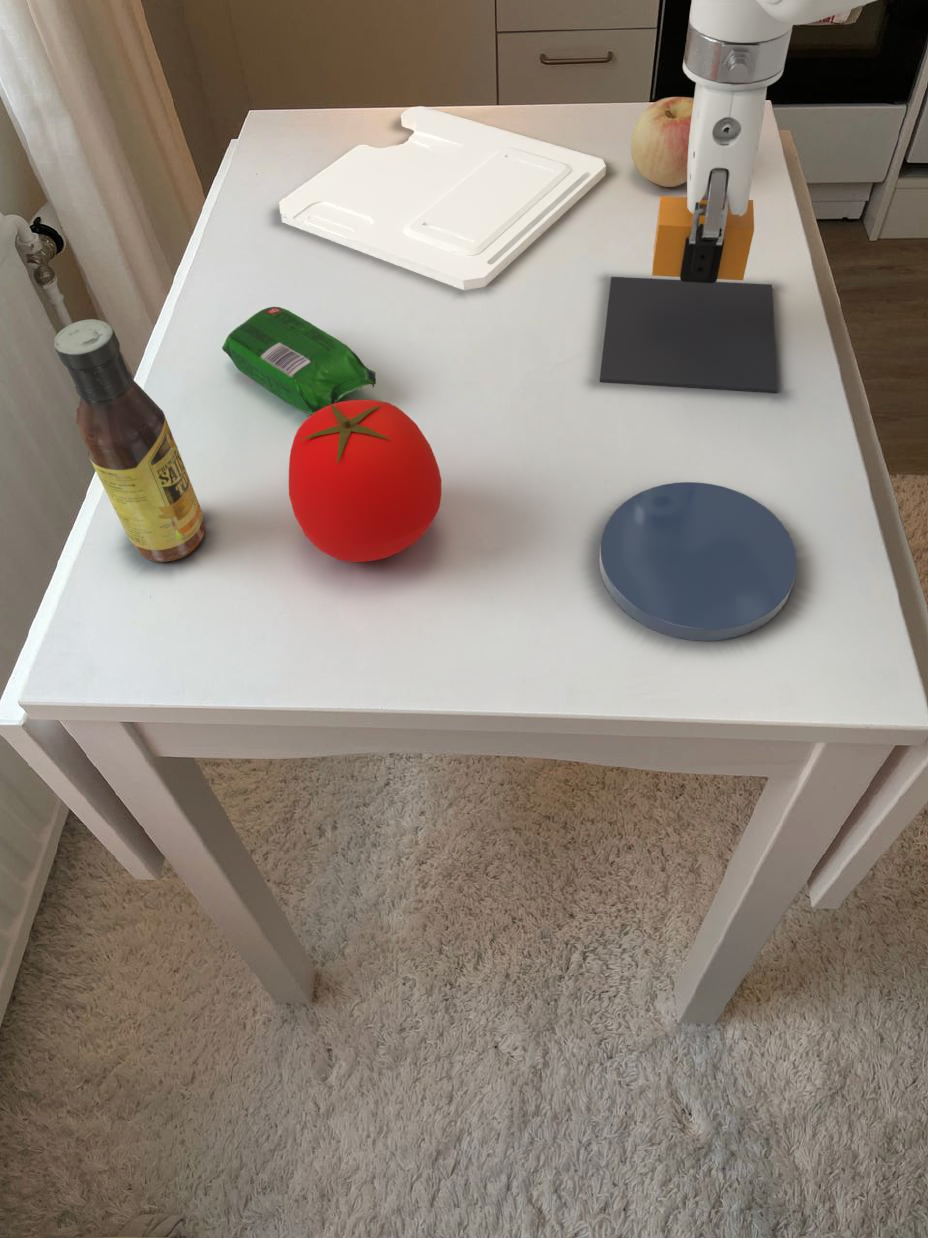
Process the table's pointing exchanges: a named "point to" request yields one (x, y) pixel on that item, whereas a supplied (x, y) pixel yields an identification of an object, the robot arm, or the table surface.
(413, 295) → the table surface
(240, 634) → the table surface
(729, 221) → the block
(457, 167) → the tray
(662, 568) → the plate
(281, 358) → the snack package
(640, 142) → the apple
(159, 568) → the table surface
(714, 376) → the mat
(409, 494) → the tomato
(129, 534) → the sauce bottle
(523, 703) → the table surface
